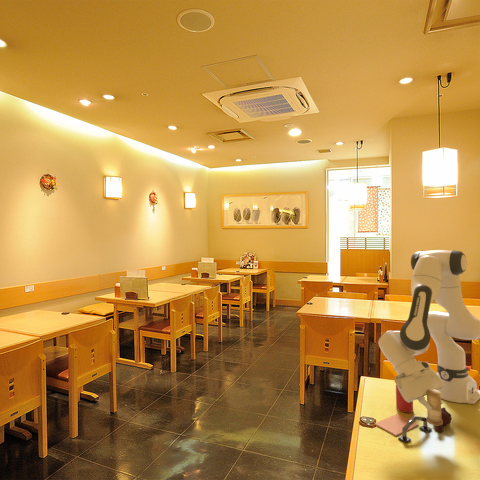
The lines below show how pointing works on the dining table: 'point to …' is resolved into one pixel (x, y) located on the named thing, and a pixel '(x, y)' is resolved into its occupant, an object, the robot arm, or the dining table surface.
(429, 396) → the birch post
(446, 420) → the icecream
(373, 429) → the dining table surface
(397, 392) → the beer can
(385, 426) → the tile
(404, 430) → the bent metal handle
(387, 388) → the dining table surface
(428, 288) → the robot arm
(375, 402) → the dining table surface
